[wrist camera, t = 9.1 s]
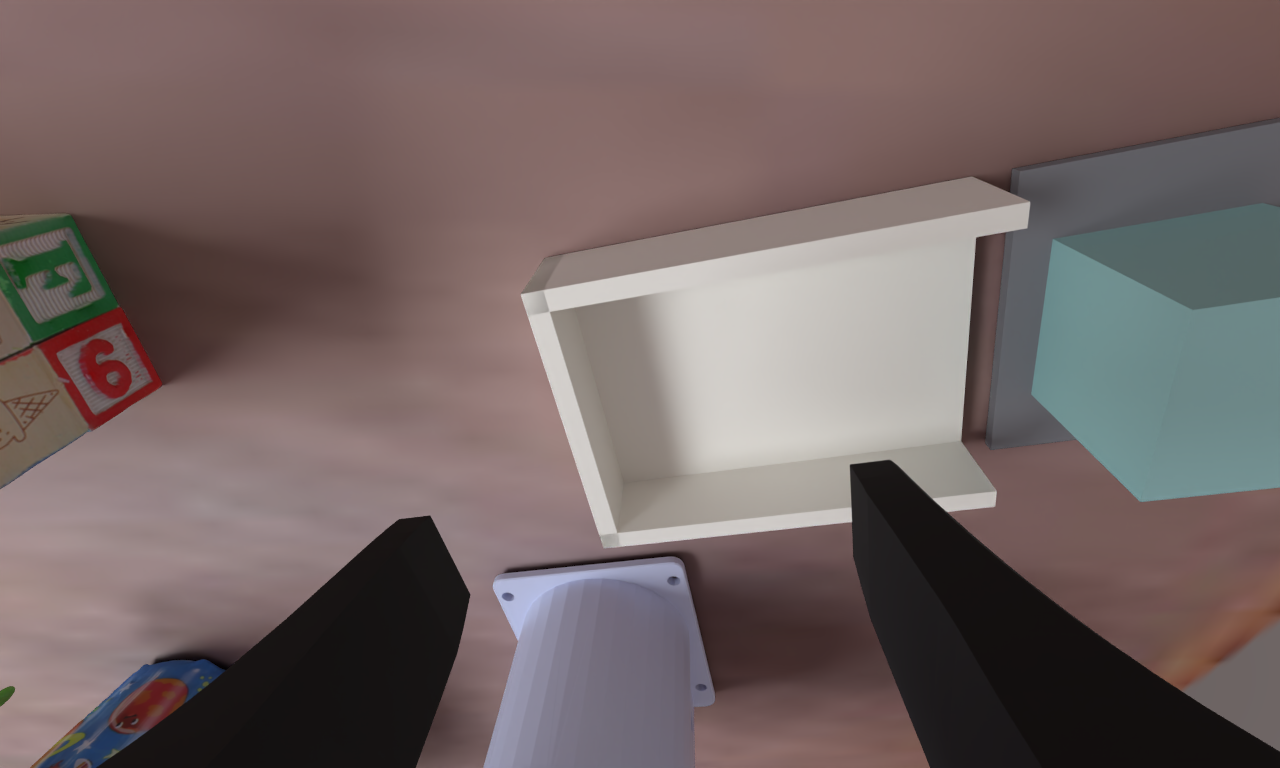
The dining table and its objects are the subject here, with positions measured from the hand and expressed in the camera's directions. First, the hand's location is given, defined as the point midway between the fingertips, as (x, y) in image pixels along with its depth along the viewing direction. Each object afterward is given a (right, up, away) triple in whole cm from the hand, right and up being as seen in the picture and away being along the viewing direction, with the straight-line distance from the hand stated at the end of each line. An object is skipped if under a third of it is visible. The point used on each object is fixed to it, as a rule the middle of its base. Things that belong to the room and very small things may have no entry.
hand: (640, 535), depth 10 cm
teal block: (+14, +5, +7) cm, 16 cm away
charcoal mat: (+14, +5, +7) cm, 17 cm away
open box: (+4, +3, +9) cm, 10 cm away
